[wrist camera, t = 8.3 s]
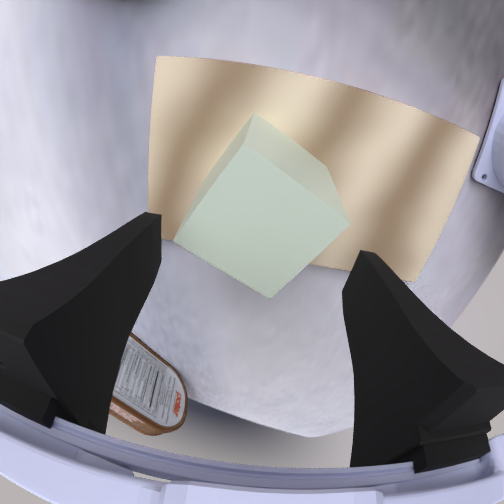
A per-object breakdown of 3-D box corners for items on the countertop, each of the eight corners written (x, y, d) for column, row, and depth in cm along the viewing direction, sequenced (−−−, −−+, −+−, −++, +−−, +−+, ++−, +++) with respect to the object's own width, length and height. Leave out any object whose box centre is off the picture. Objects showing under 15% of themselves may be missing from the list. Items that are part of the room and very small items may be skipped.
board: (472, 133, 16) (480, 137, 15) (411, 273, 23) (414, 282, 22) (162, 55, 15) (156, 56, 14) (152, 228, 22) (148, 236, 21)
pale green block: (326, 166, 18) (350, 224, 12) (271, 226, 20) (269, 299, 15) (254, 111, 16) (243, 143, 11) (203, 180, 19) (172, 241, 13)
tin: (81, 305, 28) (45, 372, 21) (97, 295, 27) (59, 366, 20) (178, 385, 35) (164, 447, 28) (198, 380, 34) (185, 446, 27)
